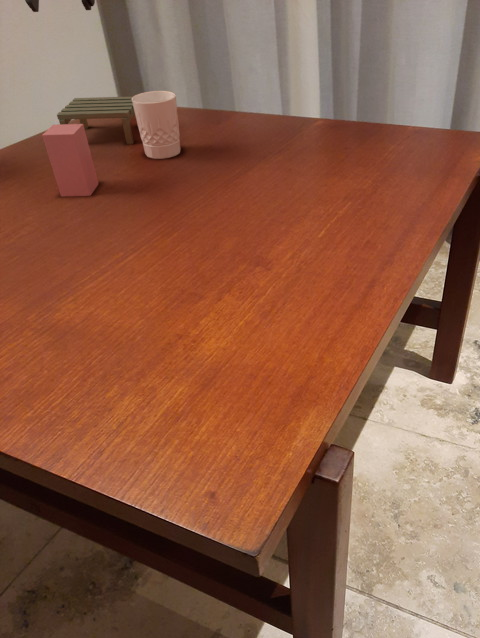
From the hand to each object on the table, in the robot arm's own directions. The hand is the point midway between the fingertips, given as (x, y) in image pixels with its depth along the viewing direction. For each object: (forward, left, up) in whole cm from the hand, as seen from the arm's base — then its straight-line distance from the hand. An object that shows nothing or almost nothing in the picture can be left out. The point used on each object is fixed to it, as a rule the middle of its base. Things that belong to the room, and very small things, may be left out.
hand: (59, 7), depth 86 cm
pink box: (0, -12, -25) cm, 27 cm away
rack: (-3, +16, -25) cm, 30 cm away
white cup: (+11, +5, -25) cm, 28 cm away
